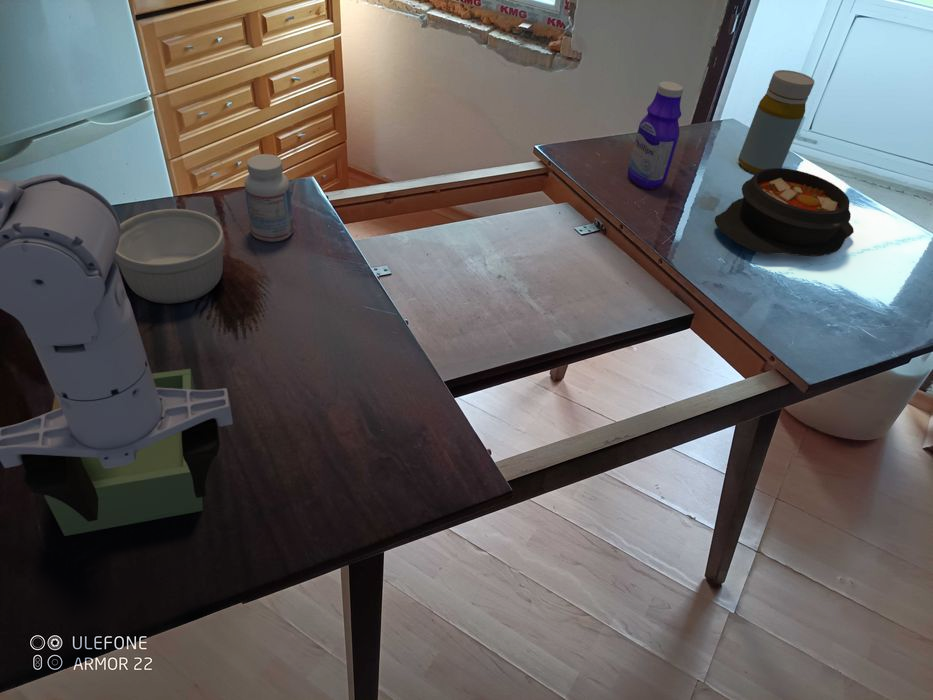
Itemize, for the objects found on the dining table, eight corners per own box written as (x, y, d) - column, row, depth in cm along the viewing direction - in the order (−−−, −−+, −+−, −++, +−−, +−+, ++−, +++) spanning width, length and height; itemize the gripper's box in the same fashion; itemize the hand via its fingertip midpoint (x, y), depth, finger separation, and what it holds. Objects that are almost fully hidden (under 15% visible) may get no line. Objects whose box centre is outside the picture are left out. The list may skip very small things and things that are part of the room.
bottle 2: (728, 163, 134) (762, 73, 122) (751, 154, 138) (785, 66, 127) (764, 180, 129) (802, 88, 118) (787, 171, 134) (826, 81, 122)
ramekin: (242, 257, 95) (235, 213, 91) (213, 315, 85) (204, 269, 81) (145, 248, 95) (133, 203, 90) (104, 306, 85) (89, 259, 80)
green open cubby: (199, 408, 73) (190, 368, 70) (202, 510, 64) (192, 471, 60) (80, 425, 70) (63, 384, 66) (64, 536, 61) (43, 496, 57)
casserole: (767, 279, 103) (789, 231, 98) (686, 218, 115) (702, 172, 110) (875, 250, 113) (901, 205, 107) (790, 197, 125) (810, 154, 120)
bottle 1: (619, 175, 125) (644, 79, 114) (643, 170, 128) (670, 76, 116) (645, 193, 121) (673, 95, 109) (669, 188, 123) (699, 92, 112)
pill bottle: (266, 217, 103) (258, 147, 96) (301, 228, 102) (296, 158, 95) (242, 236, 99) (231, 164, 92) (278, 247, 98) (271, 175, 90)
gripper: (-44, 438, 39) (36, 567, 48) (223, 391, 43) (251, 517, 52) (-24, 358, 44) (45, 488, 53) (214, 322, 48) (241, 449, 57)
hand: (147, 498), depth 53 cm, fingers open, 7 cm apart
